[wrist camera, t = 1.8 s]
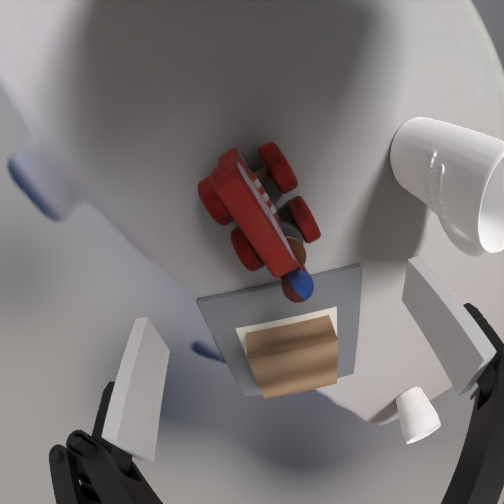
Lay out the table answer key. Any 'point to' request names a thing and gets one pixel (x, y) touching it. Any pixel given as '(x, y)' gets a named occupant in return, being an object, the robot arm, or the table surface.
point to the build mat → (284, 318)
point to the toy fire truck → (263, 217)
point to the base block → (294, 356)
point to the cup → (416, 415)
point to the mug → (454, 180)
